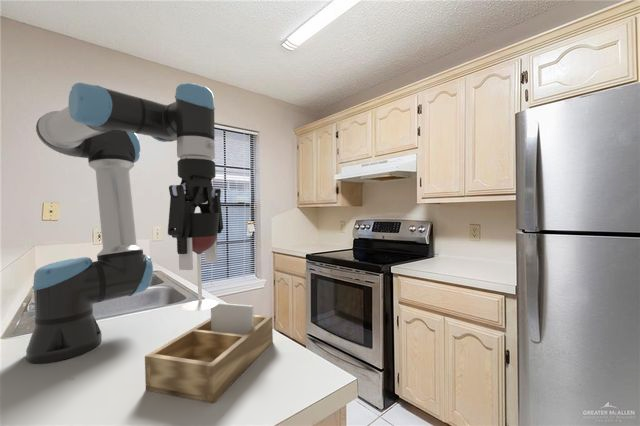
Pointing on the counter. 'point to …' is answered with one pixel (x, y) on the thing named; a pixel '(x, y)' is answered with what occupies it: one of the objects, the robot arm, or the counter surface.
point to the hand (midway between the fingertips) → (199, 265)
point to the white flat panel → (232, 318)
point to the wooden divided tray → (205, 360)
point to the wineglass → (202, 239)
